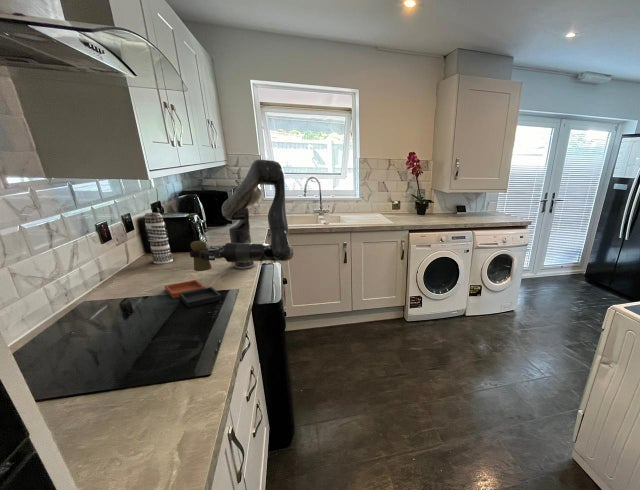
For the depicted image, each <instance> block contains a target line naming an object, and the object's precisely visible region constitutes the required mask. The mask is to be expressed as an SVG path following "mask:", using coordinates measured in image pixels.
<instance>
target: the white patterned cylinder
mask: <svg viewBox="0 0 640 490" xmlns="http://www.w3.org/2000/svg"><path fill="white" fill-rule="evenodd" d="M143 218H144V225H145V227H144V230H145V233H146V238H147V240H148V242H149V245H150V253H151V258H152V261H153V264H159V265H160V264H168V263H171V262H172V263H173V261H174V259H173V258H174V257H173V253H172V250H171V249H172V248H171V247H170V244H169V236H168V235H169V233H168V229H166V228H167V225H166V223H165V221H164V216H163V215H162V214H161V213H160V212H147V213H146V212H145V213H144V216H143Z"/></svg>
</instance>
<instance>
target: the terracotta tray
mask: <svg viewBox="0 0 640 490" xmlns="http://www.w3.org/2000/svg"><path fill="white" fill-rule="evenodd" d="M204 288H206V286H205V285H203V284H202V283H201V282H200V281H199V280H197V279H193V280H187V281H183V282H177V283H171V284H167V285H164V289H165V291H166V292H167V294H168V295H169V296H170V297H171V298H172V299H179V298H180V296H179V294H180V293H185V292H190V291H194V290H199V289H204Z"/></svg>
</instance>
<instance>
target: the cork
mask: <svg viewBox="0 0 640 490" xmlns="http://www.w3.org/2000/svg"><path fill="white" fill-rule="evenodd" d="M207 246H208V245H207V243H206V242H205V241H204V240H194V241H191V242H190V249H191V251H206V247H207ZM204 256H205V255H204ZM210 261H211V260H202V259H200V257H193V270H194V271H195V272H204V271H206V272H207V271H210V270H211V269H212V268H213V266H212V264H211V262H210Z"/></svg>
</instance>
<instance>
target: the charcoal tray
mask: <svg viewBox="0 0 640 490" xmlns="http://www.w3.org/2000/svg"><path fill="white" fill-rule="evenodd" d="M179 296H180V297H179V299H180V300H181V301H182V302H183V303H184V304H185V305H186V306H187V307H188V309H190V308H194V307H197V306H203V305H207V304H209V303H214V302H218V301H222V300H223V296H222V294H221V293H219V292H218V291H217V290H216V289H215V288H213V286H209V287H205V288H204V289H199V290H194V291H190V292H185V293H180V294H179Z"/></svg>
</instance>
